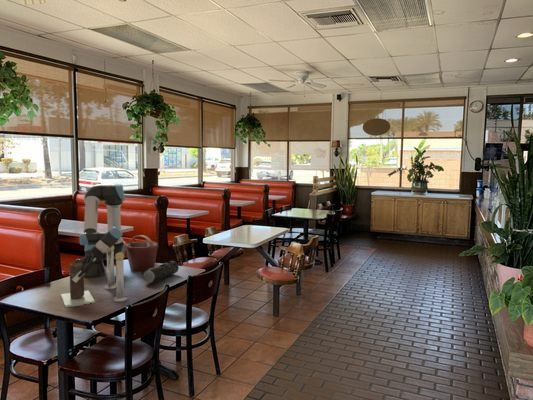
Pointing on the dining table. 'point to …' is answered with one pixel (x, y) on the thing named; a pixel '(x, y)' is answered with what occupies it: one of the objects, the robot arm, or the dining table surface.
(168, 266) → the muzzle brake
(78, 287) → the rusty metal cylinder
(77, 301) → the sage board
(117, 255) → the stanchion posts
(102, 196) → the robot arm
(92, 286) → the dining table surface
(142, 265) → the bucket
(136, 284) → the dining table surface
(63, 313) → the dining table surface
